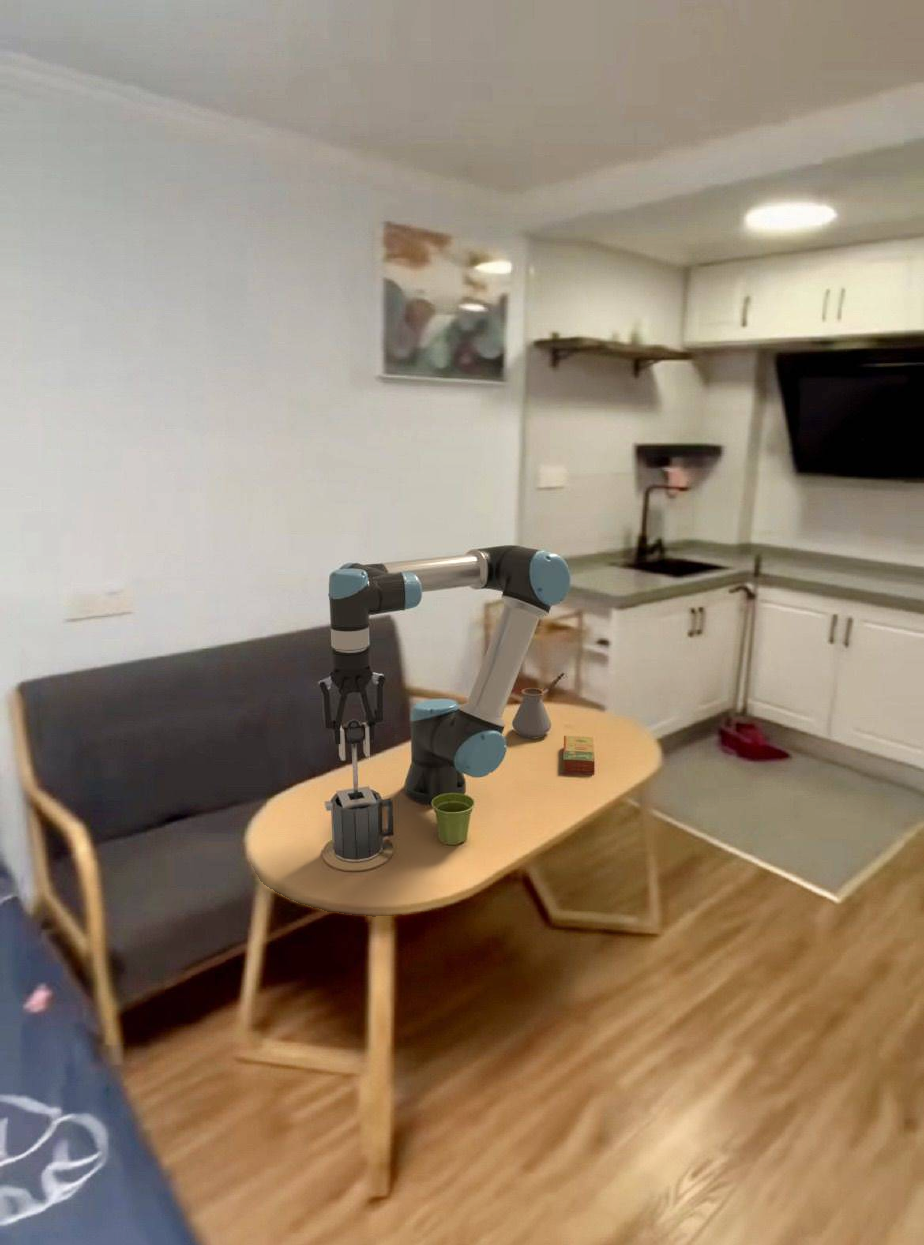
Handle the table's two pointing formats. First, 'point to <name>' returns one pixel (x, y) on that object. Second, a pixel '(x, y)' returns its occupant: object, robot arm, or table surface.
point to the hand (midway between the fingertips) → (354, 755)
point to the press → (358, 831)
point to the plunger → (354, 749)
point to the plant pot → (453, 816)
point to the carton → (578, 755)
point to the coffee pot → (533, 713)
